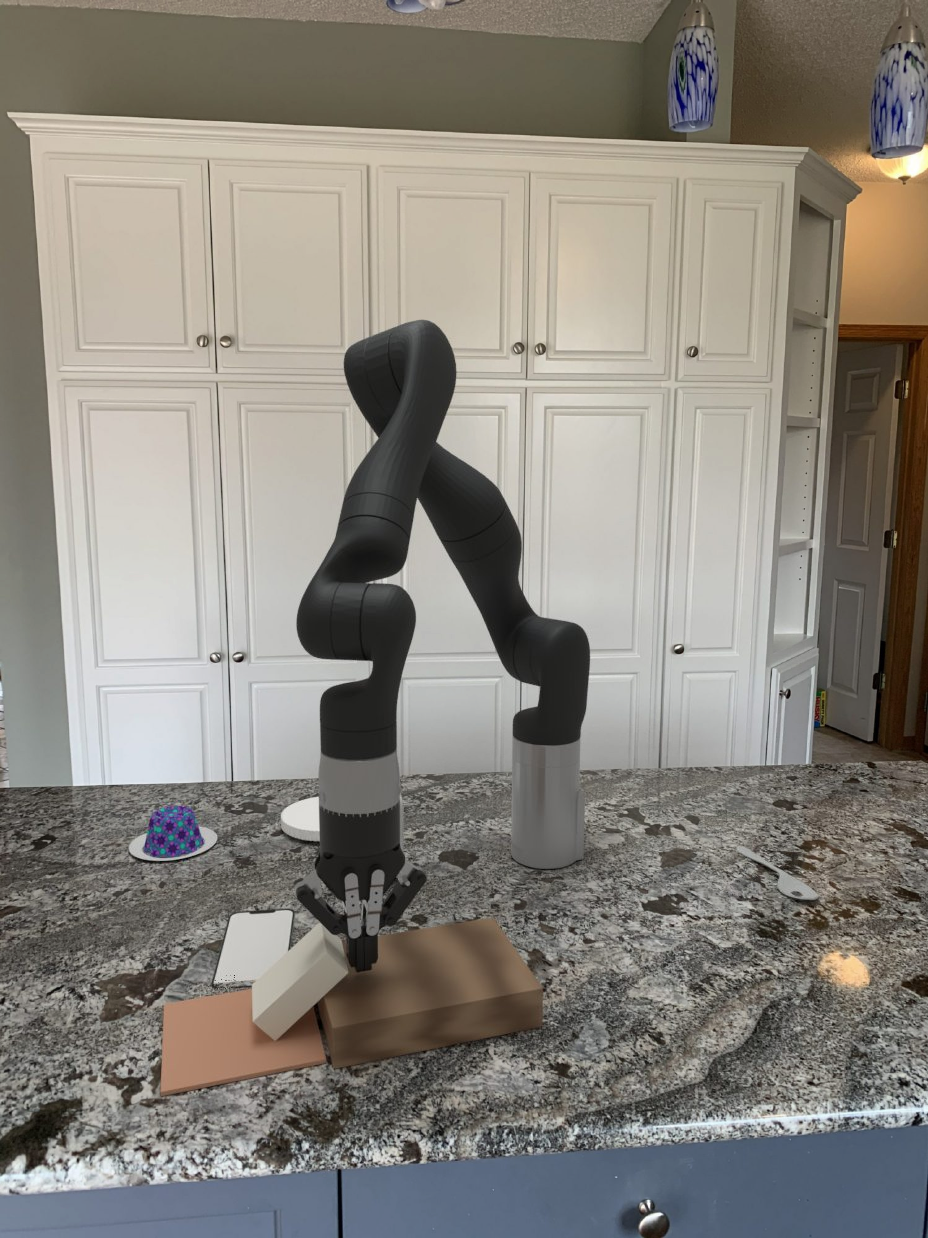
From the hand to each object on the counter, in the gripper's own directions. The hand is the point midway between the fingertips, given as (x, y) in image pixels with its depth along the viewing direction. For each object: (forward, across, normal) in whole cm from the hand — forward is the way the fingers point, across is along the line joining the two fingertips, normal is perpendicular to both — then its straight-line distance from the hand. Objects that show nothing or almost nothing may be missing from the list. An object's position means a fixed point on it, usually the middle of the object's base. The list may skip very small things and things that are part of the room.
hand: (361, 967), depth 83 cm
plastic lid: (+6, -4, -47) cm, 48 cm away
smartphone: (+6, +9, -16) cm, 19 cm away
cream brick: (+2, +5, -1) cm, 5 cm away
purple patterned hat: (+6, +18, -47) cm, 51 cm away
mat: (+5, +11, -1) cm, 13 cm away
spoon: (+6, -58, -15) cm, 60 cm away
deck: (+5, -6, 0) cm, 8 cm away
